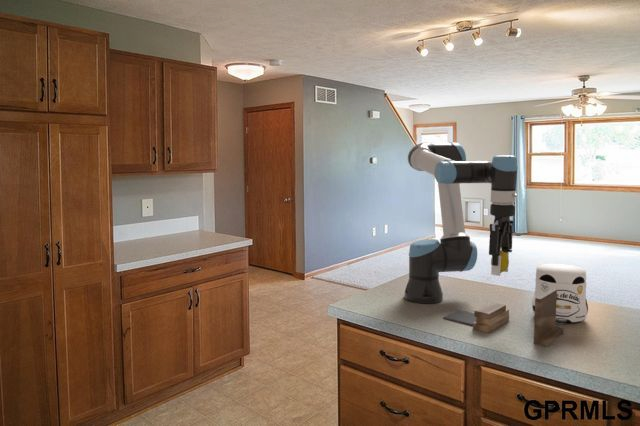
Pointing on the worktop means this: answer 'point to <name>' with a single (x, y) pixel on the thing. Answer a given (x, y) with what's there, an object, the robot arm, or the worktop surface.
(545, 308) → the wooden blocks
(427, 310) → the worktop surface
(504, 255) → the lemon
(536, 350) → the worktop surface
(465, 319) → the rubber mat
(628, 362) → the worktop surface
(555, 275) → the milk container
